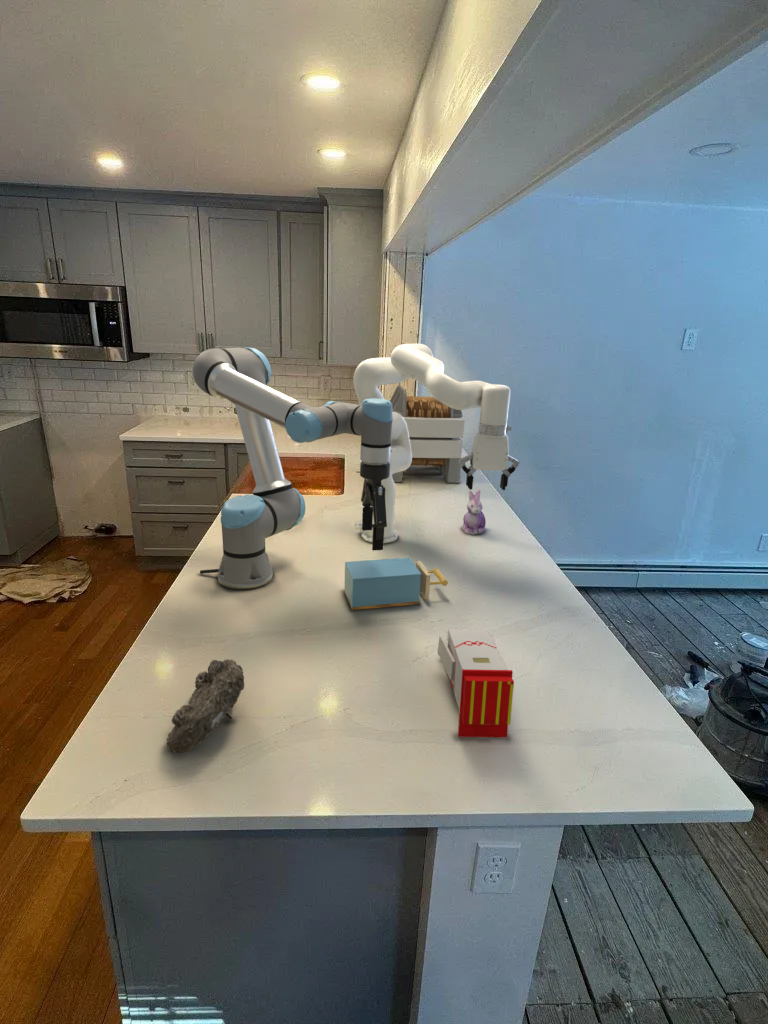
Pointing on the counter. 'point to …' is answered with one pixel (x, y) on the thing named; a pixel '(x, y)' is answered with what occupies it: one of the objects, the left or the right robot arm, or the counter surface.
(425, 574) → the drawer
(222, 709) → the fossil
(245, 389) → the left robot arm
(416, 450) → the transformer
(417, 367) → the right robot arm
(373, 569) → the cabinet
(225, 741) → the counter surface
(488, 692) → the toy
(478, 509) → the figurine
